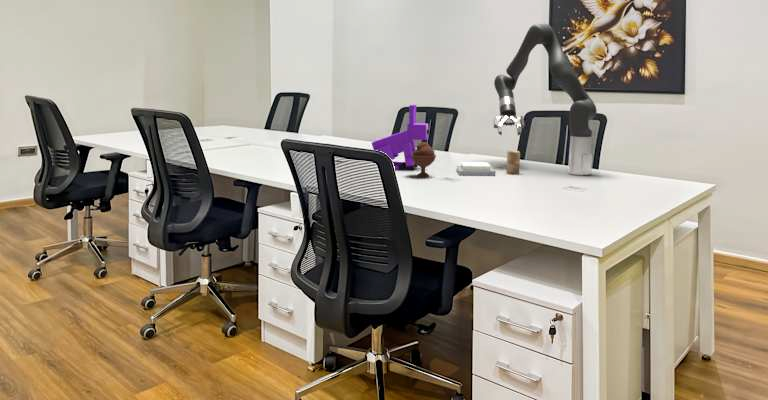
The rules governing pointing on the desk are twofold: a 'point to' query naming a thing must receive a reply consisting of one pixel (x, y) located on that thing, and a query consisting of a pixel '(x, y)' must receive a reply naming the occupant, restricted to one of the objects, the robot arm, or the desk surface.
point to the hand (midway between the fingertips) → (509, 134)
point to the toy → (403, 141)
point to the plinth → (476, 173)
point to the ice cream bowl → (423, 157)
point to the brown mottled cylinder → (513, 162)
